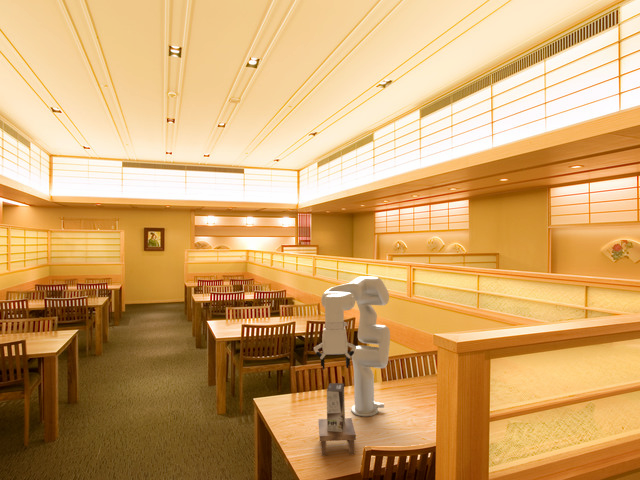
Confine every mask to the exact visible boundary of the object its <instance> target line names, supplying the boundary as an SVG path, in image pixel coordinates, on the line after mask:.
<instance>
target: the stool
mask: <svg viewBox="0 0 640 480" xmlns="http://www.w3.org/2000/svg"><path fill="white" fill-rule="evenodd" d="M318 432H319V433H318V435H319V436H318V437H319V442H320V448H321V449H320V451H321V453H320V454H321V456H322V457H323V456H324V457H325V456H327V442H333V441H335V442H337V441H338V442H339V441H349V442H348V450H349V451H348V452H349V456H352V455H353V456H354V455H355V441H356V439H357V434H356V430H355V426H354V422H353V419H352V417H351V418H350V417H349V418H347V417H345V423H344V427H343V432H332V431H327V418H321V419H320V418H319V419H318Z"/></svg>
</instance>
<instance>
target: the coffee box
mask: <svg viewBox="0 0 640 480" xmlns="http://www.w3.org/2000/svg"><path fill="white" fill-rule="evenodd" d="M345 407H346V406H345V383H341V382H340V383H336V382H335V383H333V382H332V383H329V384H328V386H327V389H326V419H327V431H332V432H343V427H344V423H345V418H346V416H345V415H346V413H345V410H346V409H345Z"/></svg>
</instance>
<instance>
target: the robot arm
mask: <svg viewBox="0 0 640 480" xmlns="http://www.w3.org/2000/svg"><path fill="white" fill-rule="evenodd" d="M389 300H390V294H389V291H388V288H387V287H386V285H385V282H384V281H383V280H382V279H381V278H380V277H378V276H357V277H356V278H354V279H352V280H351V281H349V282H348V283H344V284H339V285H335V286H332V287H330V288H328V289H327V290H325V291H324V292H323V294H322V296H321V299H320V301H321V305H322V307H324V319H325V321H324V328H323V330H322V338H321V340H322V341H321V342H320V343H319V344H317V345H316V346H314V347H313V351H314V352H315V354H316V356H317V357H318V358H320V367H322V369H323V370H325V356H326V355H345V368H346V369H349V366H351V360H352V366H353V367H352V368H353V382H354V383H353V384H354V385H353V387H354V390H353V391H354V396H353V397H354V404H353V405H352V406H351V413H352V414H353V415H355V416H359V417H373V416H375V415H377V413H378V409H382V408H383V409H384V408H385V403H382V402H381V401H375V387H374V385H375V382H374V381H375V379H374V378H375V376H374V371H373V369H372V368H376V369H386V367H387V365H388V363H389V355H390V344H391V343H390V342H391V331H390V328H389V327H388V326H387V325H385V324H378V323H377V319H378V314H377V311H376V310H375V309H374V307H373V306H386V305H387V304H388V303H389ZM356 304H357V308H358V311H359V319H358V321H359V322H358V328H357V329H358V330H357V339H358V341H359V342H360V343H363V344H368V345H355V344H352V343H350V342H348V336H347V329H346V327H347V326H348V322H347V321H346V322H345V319H344V315H345V314H344V311H345V312H346V311H351V310H352V309H353V308H354V307H355V305H356ZM371 345H378V346H371ZM348 348H350V349H351V350H350V351H349V352H348V350H349V349H348ZM319 349H322V352H320V351H319Z"/></svg>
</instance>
